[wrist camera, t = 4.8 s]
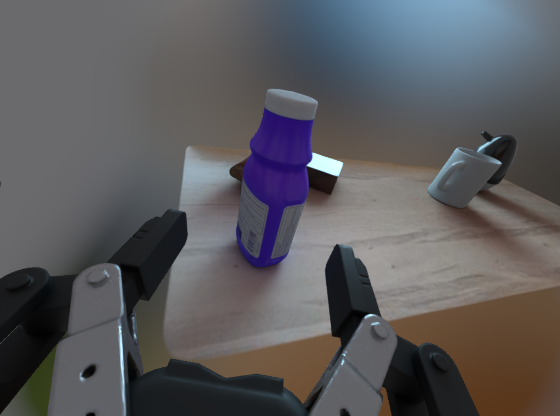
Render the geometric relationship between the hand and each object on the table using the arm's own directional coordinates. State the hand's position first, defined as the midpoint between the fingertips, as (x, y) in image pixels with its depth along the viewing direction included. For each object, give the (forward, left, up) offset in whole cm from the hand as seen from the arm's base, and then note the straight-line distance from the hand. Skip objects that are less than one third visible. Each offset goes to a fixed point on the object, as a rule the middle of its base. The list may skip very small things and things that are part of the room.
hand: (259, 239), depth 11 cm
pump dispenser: (+38, +65, -12) cm, 76 cm away
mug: (+27, +48, -12) cm, 56 cm away
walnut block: (-1, +34, -12) cm, 36 cm away
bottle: (-3, +10, -12) cm, 16 cm away
